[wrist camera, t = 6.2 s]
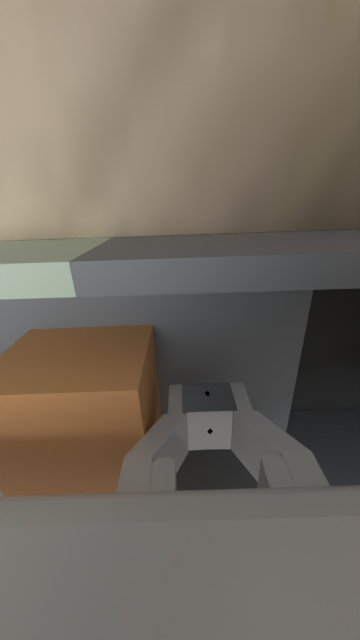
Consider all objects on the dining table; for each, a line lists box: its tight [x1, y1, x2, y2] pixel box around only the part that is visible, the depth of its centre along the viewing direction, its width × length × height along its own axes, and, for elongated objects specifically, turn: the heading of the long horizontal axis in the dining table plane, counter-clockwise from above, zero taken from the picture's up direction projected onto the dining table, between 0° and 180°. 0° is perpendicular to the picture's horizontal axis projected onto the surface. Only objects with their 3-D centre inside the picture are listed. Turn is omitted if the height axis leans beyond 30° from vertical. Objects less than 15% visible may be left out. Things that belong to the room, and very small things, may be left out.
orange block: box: [0, 325, 161, 496], centre depth 10 cm, size 5×5×4 cm
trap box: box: [0, 229, 360, 496], centre depth 12 cm, size 32×11×5 cm, turn 92°
